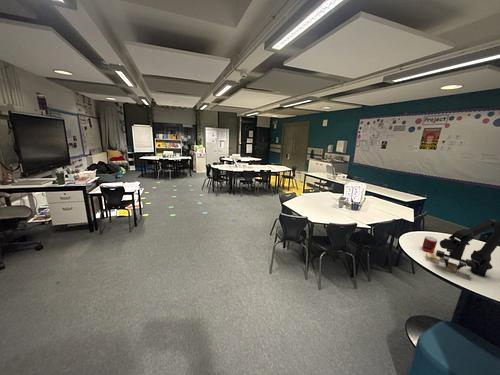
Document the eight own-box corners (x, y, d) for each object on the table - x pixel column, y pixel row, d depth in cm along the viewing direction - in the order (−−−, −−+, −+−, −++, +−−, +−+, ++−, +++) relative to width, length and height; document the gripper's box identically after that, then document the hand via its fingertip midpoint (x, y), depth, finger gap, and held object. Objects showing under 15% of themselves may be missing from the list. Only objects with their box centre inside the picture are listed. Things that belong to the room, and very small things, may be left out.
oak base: (437, 260, 153) (438, 255, 152) (438, 264, 147) (439, 259, 146) (425, 256, 157) (426, 252, 156) (425, 260, 151) (427, 255, 150)
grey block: (445, 260, 153) (447, 254, 151) (447, 263, 149) (449, 257, 147) (437, 258, 155) (439, 252, 153) (439, 261, 151) (441, 255, 149)
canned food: (430, 248, 168) (434, 236, 165) (435, 254, 161) (439, 241, 158) (419, 247, 170) (423, 235, 167) (424, 252, 163) (428, 239, 160)
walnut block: (454, 270, 141) (456, 264, 139) (455, 273, 137) (457, 267, 136) (445, 267, 143) (448, 261, 142) (446, 270, 140) (448, 264, 139)
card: (469, 275, 136) (469, 274, 136) (470, 280, 131) (471, 279, 131) (455, 270, 141) (455, 270, 140) (455, 275, 136) (456, 274, 135)
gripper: (476, 250, 136) (468, 270, 140) (439, 240, 148) (433, 258, 152) (478, 257, 128) (470, 278, 132) (439, 245, 140) (433, 265, 144)
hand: (450, 269), depth 140 cm, fingers closed on walnut block, 4 cm apart
